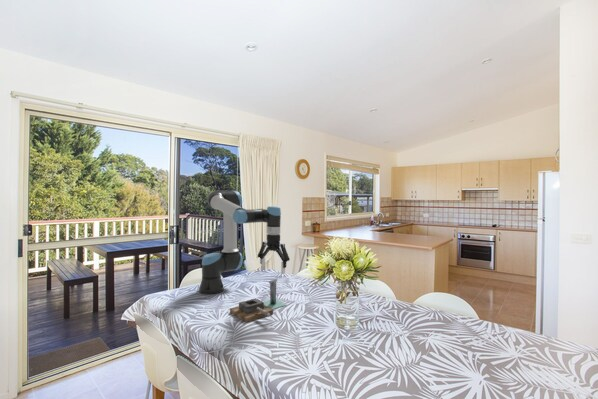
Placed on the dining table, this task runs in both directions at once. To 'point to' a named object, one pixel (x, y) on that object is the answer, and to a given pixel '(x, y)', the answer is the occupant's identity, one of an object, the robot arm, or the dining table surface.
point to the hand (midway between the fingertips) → (272, 271)
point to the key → (273, 291)
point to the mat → (277, 305)
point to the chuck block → (251, 310)
